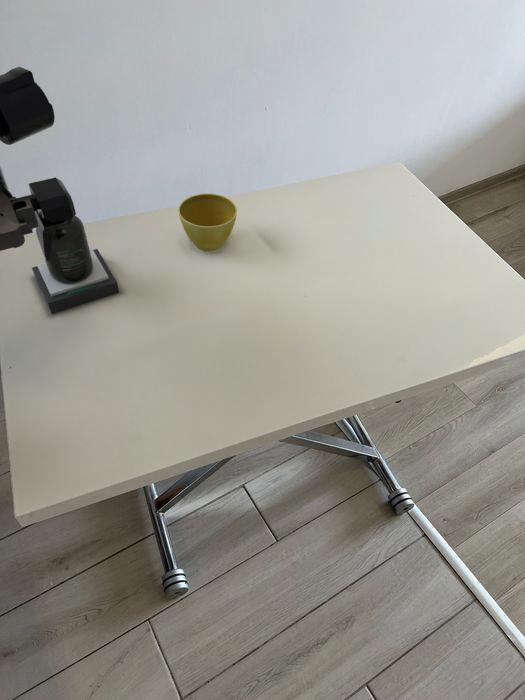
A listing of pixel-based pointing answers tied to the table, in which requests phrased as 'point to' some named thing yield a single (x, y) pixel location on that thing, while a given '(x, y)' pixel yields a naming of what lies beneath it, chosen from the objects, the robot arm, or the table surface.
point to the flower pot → (207, 220)
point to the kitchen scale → (76, 285)
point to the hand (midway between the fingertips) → (12, 269)
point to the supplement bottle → (69, 253)
